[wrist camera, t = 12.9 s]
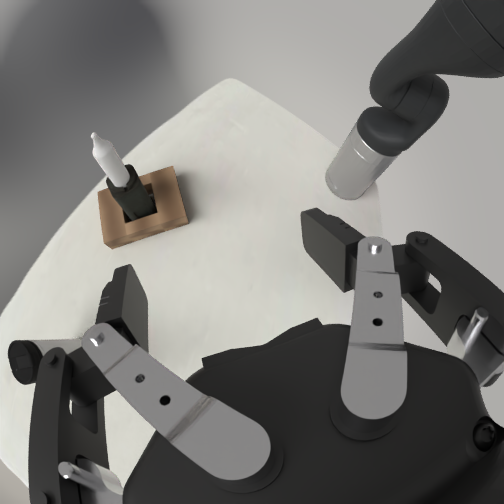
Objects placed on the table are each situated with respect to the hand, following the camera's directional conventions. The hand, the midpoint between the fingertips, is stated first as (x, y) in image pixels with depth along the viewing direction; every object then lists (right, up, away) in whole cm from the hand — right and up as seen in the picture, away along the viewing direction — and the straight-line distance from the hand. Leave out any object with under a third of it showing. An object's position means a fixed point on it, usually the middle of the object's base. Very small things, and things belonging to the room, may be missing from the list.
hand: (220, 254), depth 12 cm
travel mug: (-31, -19, +30) cm, 48 cm away
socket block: (-20, +8, +38) cm, 44 cm away
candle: (-20, +8, +39) cm, 44 cm away
